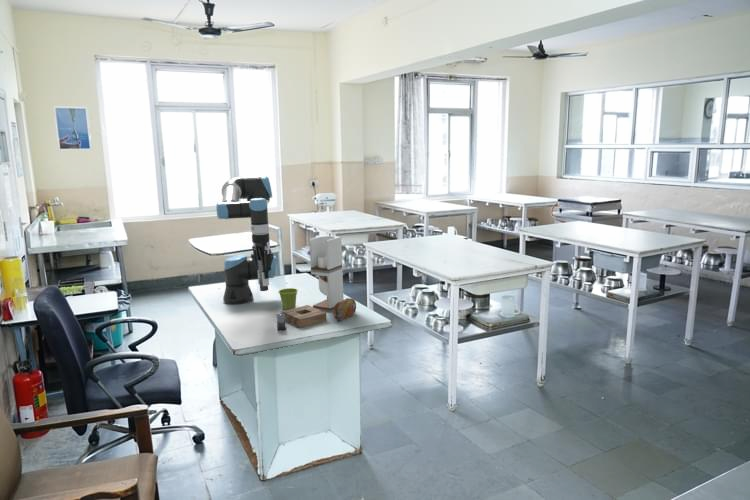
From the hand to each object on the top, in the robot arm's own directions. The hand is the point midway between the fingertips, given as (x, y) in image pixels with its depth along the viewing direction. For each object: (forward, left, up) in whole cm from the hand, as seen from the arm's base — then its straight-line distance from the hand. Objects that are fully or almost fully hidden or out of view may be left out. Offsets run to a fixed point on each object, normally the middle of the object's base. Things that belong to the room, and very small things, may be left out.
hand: (263, 284), depth 238 cm
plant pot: (-12, +19, -18) cm, 29 cm away
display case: (+2, +33, -18) cm, 37 cm away
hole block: (+10, +14, -18) cm, 25 cm away
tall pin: (0, 0, -3) cm, 3 cm away
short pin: (+14, 0, -18) cm, 23 cm away
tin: (+20, +30, -18) cm, 40 cm away
